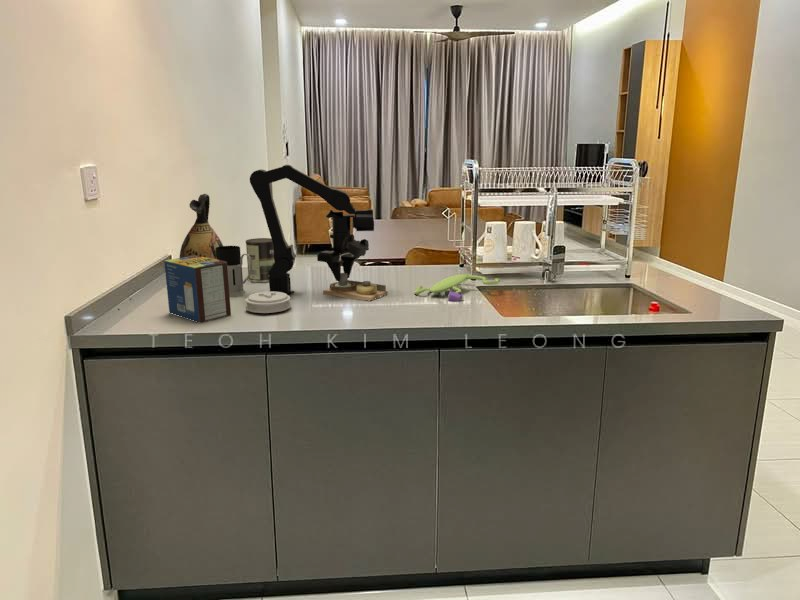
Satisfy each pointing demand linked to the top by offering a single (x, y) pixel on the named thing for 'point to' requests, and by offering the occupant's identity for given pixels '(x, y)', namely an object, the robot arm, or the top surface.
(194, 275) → the protein box
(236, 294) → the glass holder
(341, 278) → the planet gear
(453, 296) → the figurine
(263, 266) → the printed mug
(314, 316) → the top surface
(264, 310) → the lid
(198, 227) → the ceramic jug
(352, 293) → the carrier board
